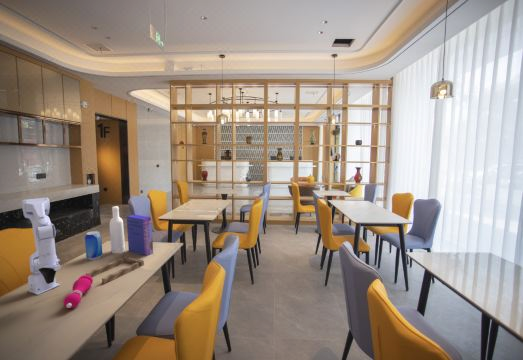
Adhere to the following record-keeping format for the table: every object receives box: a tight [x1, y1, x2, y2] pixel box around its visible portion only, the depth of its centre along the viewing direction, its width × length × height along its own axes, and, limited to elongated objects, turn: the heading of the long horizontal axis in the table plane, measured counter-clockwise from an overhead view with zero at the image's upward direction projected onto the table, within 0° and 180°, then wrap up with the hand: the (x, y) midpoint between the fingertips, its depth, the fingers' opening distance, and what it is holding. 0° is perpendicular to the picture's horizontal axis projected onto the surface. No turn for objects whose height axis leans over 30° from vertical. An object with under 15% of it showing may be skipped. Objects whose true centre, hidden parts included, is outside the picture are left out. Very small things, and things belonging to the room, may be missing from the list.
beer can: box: [84, 230, 103, 261], centre depth 157 cm, size 8×8×16 cm
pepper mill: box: [63, 274, 94, 309], centre depth 113 cm, size 7×7×20 cm
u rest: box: [85, 255, 145, 285], centre depth 140 cm, size 24×15×2 cm, turn 155°
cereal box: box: [126, 214, 154, 257], centre depth 165 cm, size 17×5×24 cm, turn 64°
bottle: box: [109, 205, 126, 254], centre depth 166 cm, size 8×8×30 cm
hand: (50, 282), depth 111 cm, fingers closed
